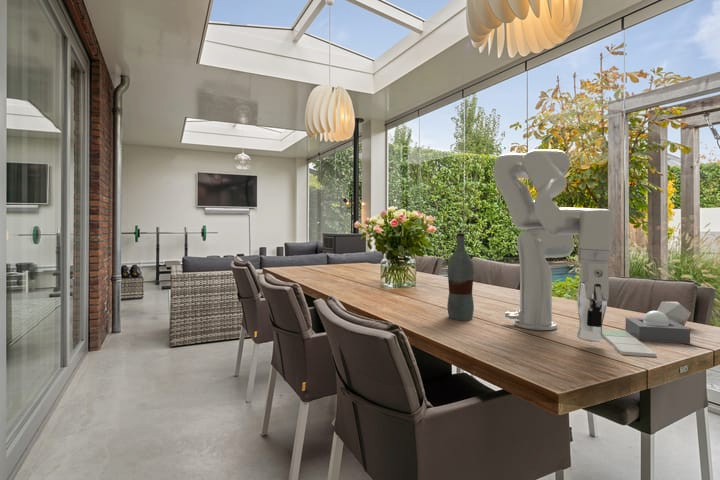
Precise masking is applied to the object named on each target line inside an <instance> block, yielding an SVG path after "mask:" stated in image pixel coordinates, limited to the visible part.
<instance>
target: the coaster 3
mask: <svg viewBox="0 0 720 480" xmlns="http://www.w3.org/2000/svg"><path fill="white" fill-rule="evenodd" d="M612 347H613V348H614V350H616V351H617V352H618V353H619V354H620V355H624V356H625V355H627V356H635V357H636V356H637V357H638V356H639V357H651V358H656V357H657V353H656V352H655V351H653V350H652V349H651V348H649V347H648V346H647V345H646V344H644V345H632V344H618V343H613V346H612Z"/></svg>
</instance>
